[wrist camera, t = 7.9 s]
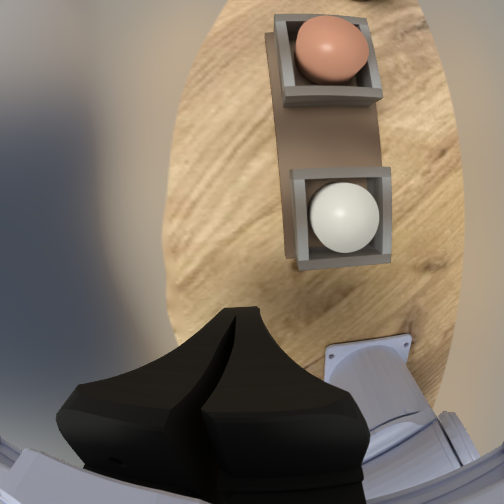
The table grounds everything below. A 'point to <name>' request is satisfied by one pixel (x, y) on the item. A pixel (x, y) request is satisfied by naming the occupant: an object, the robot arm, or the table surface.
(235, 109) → the table surface
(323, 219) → the white plunger
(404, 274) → the table surface
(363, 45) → the tan rounded dome
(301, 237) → the panel
